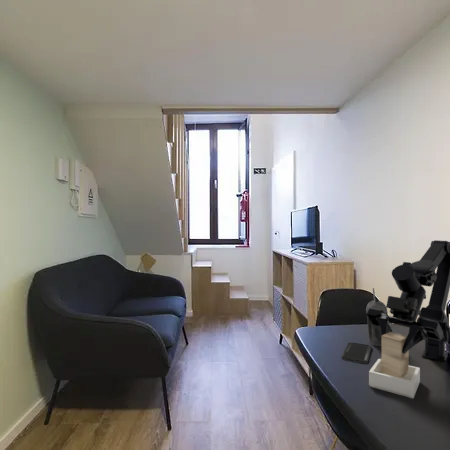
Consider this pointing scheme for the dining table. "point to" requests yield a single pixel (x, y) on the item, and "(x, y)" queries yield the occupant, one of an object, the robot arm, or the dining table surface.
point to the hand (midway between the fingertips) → (392, 349)
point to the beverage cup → (373, 329)
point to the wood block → (394, 355)
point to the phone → (357, 352)
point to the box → (395, 381)
